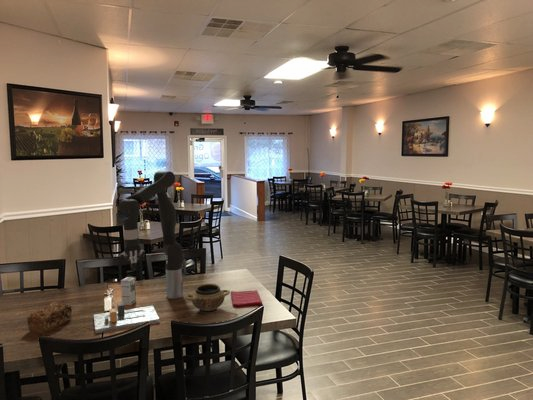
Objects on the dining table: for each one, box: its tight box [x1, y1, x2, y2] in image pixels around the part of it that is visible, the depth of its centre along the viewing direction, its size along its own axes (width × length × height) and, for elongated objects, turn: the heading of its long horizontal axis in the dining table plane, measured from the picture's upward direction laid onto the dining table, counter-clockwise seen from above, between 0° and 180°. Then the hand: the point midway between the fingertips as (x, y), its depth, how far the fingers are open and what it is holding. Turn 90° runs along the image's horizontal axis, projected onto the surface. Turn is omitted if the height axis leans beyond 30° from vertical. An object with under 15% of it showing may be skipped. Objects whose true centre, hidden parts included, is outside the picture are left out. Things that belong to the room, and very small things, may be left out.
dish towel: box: [230, 290, 264, 308], centre depth 239 cm, size 17×24×3 cm
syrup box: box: [120, 276, 137, 306], centre depth 233 cm, size 6×6×14 cm
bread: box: [27, 300, 73, 334], centre depth 203 cm, size 19×11×10 cm, turn 164°
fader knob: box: [108, 308, 117, 323], centre depth 203 cm, size 3×5×5 cm, turn 25°
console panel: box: [93, 301, 160, 334], centre depth 209 cm, size 30×20×7 cm, turn 115°
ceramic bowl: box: [184, 283, 231, 314], centre depth 222 cm, size 24×18×15 cm
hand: (134, 269), depth 215 cm, fingers closed
